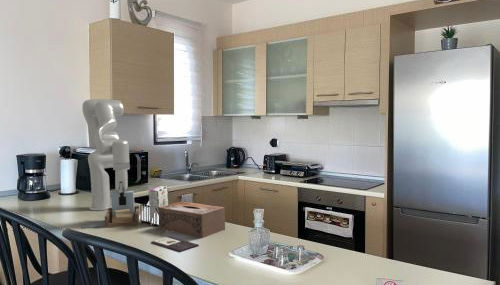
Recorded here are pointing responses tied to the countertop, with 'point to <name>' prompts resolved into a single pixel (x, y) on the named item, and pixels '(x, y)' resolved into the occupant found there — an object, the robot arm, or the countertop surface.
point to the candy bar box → (157, 199)
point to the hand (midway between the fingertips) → (123, 203)
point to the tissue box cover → (192, 219)
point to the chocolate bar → (175, 244)
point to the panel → (129, 205)
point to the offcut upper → (122, 213)
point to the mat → (94, 224)
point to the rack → (109, 218)
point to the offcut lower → (122, 219)
